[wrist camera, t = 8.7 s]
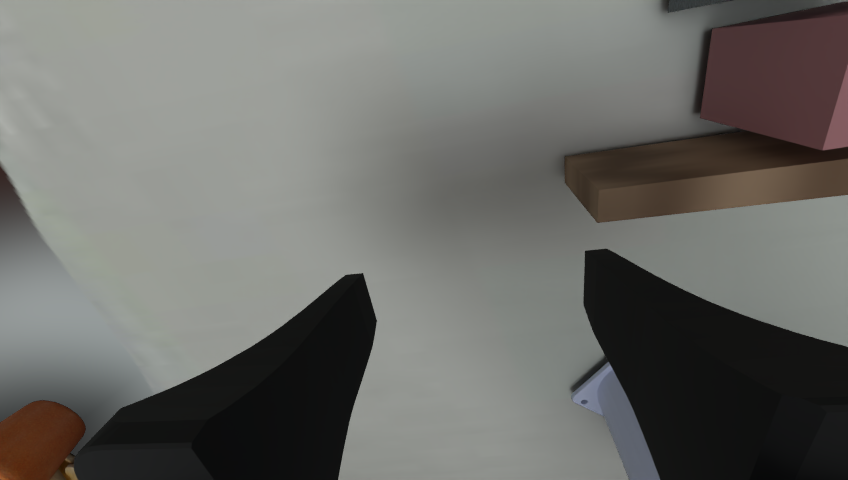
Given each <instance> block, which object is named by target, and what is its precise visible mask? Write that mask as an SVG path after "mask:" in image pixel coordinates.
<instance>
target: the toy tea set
mask: <svg viewBox="0 0 848 480" xmlns="http://www.w3.org/2000/svg"><path fill="white" fill-rule="evenodd" d="M85 430H86V428H85V424H84V422H83V420H82V419H81V418H80V417H79V416H78V415H77V414H76V413H75V412H73V411H72V410H71V409H69V408H68V407H66V406H64V405H61V404H59V403H56V402H51V401H45V400H43V401H42V400H40V401H35V402H32V403H30V404H28V405H26V406H25V407H23V408H22V409H20V410H19V411H17V412H16V413H14V414H13V415H11V416H9V417H8V418H6V419H5V420H3V421H2V422H0V480H78V479H77V477H76V474H75V472H74V458H75V456H74V455H73V454H71V453H70V452H71V451H72V450H73V449H74V447H75V446H76V445H77V443H78V442H79V441H80V439H81V438H82V437H83V435H84V433H85Z"/></svg>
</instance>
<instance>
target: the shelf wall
mask: <svg viewBox="0 0 848 480" xmlns="http://www.w3.org/2000/svg"><path fill="white" fill-rule="evenodd" d="M565 183H566V185H567V186H568V187H569V188H570V190H571V191H572V192H573V193H574V195H575V196H576V197H577V198H578V200H579V201H580V202H581V203H582V204H583V206H584V207H585V208H586V209H587V211H588V212H589V213H590V214H591V216H592V217H593V218H594V219H595V221H596V222H597V223H600V222H609V221H618V220H627V219H636V218H645V217H654V216H663V215H672V214H680V213H689V212H698V211H707V210H716V209H725V208H734V207H743V206H752V205H761V204H770V203H778V202H787V201H796V200H805V199H814V198H823V197H832V196H841V195H848V147H842V148H836V149H829V150H819V149H815V148H811V147H808V146H804V145H800V144H796V143H793V142H789V141H785V140H781V139H777V138H774V137H770V136H766V135H762V134H759V133H755V132H751V131H742V132H735V133H728V134H721V135H714V136H707V137H700V138H693V139H686V140H679V141H672V142H665V143H657V144H650V145H643V146H636V147H629V148H622V149H615V150H608V151H601V152H594V153H587V154H580V155H573V156H566V157H565Z"/></svg>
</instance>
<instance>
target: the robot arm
mask: <svg viewBox="0 0 848 480" xmlns="http://www.w3.org/2000/svg"><path fill="white" fill-rule="evenodd" d="M584 307H585V310H586V313H587V316H588V319H589V322H590V324H591V327H592V330H593V332H594V334H595V336H596V338H597V340H598V342H599V344H600V346H601V348H602V350H603V352H604V354H605V356H606V358H607V359H608V361H609V362H607V363H606V364H605V365H604V366H603V367H602V368H601V369H599V370H598V371H597V372H596V373H595V374H594V375H593V376H592V377H590V378H589V379H588V380H587V381H586V382H585V383H584V384H582V385H581V386H580V387H579V388H578V389H577V390H576V391H574V392H573V393H572V395H571V398H572V400H573V402H575V403H577V404H579V405H581V406H583V407H585V408H587V409H589V410H591V411H593V412H596V413H598V414H600V415H602V416H604V417H605V420H606V422H607V425H608V427H609V430H610V432H611V435H612V437H613V440H614V442H615V445H616V448H617V450H618V453H619V455H620V458H621V460H622V463H623V465H624V468H625V470H626V473H627V475H628V478H629V480H848V347H846V346H842V345H838V344H835V343H831V342H827V341H823V340H819V339H816V338H813V337H809V336H806V335H802V334H799V333H795V332H792V331H789V330H786V329H783V328H780V327H777V326H774V325H771V324H768V323H764V322H761V321H758V320H756V319H753V318H750V317H747V316H744V315H742V314H739V313H736V312H734V311H731V310H729V309H726V308H724V307H721V306H719V305H716V304H714V303H711V302H709V301H707V300H704V299H702V298H700V297H698V296H695V295H693V294H691V293H689V292H687V291H685V290H683V289H681V288H679V287H677V286H675V285H673V284H671V283H669V282H667V281H665V280H663V279H661V278H659V277H657V276H655V275H653V274H652V273H650V272H648V271H646V270H644V269H642V268H641V267H639V266H637V265H635V264H634V263H632V262H630V261H628V260H626V259H625V258H623V257H621V256H619V255H618V254H616V253H614V252H612V251H610V250H608V249H599V250H589V251H585V273H584ZM376 322H377V320H376V316H375V313H374V309H373V306H372V303H371V299H370V296H369V292H368V289H367V285H366V282H365V279H364V275H363V273H361V274H351V275H345V276H344V277H342V278H341V279H340V280H338V281H337V282H336V283H335V284H334V285H332V286H331V287H330V288H329V289H328V290H326V291H325V292H324V293H323V294H322V295H320V296H319V297H318V298H317V299H316V300H314V301H313V302H312V303H311V304H310V305H308V306H307V307H306V308H305V309H304V310H302V311H301V312H300V313H298V314H297V315H296V316H294V317H293V318H292V319H291V320H289V321H288V322H287V323H285V324H284V325H283V326H282V327H280V328H279V329H277V330H276V331H274V332H273V333H272V334H270V335H269V336H267V337H266V338H264V339H263V340H261V341H259V342H258V343H256V344H255V345H253V346H252V347H250V348H248V349H247V350H245V351H243V352H241V353H240V354H238V355H236V356H234V357H233V358H231V359H229V360H227V361H225V362H224V363H222V364H220V365H218V366H216V367H214V368H213V369H211V370H209V371H207V372H205V373H203V374H200V375H198V376H196V377H194V378H192V379H190V380H188V381H186V382H184V383H181V384H179V385H177V386H175V387H172V388H170V389H168V390H165V391H163V392H160V393H158V394H155V395H153V396H151V397H148V398H146V399H144V400H141V401H138V402H136V403H133V404H131V405H128V406H126V407H123V408H121V409H120V410H119V411H118V412H117V413H116V414H115V415H114V416H113V417H112V418H111V419H110V420H109V421H108V422H107V423H106V424H105V425H104V426H103V427H102V428H101V429H100V430H99V431H98V432H97V433H96V435H94V437H93V438H92V439H91V440H90V441H89V442H88V443H87V444H86V445H85V446H84V447H83V448H82V449H81V450H80V451H79V452H78V454H77V455H76V456H75V458H74V472H75V474H76V477H77V479H78V480H338V476H339V471H340V465H341V460H342V455H343V449H344V445H345V440H346V435H347V430H348V426H349V421H350V417H351V413H352V410H353V406H354V403H355V400H356V397H357V394H358V390H359V387H360V384H361V381H362V378H363V375H364V372H365V369H366V366H367V363H368V359H369V356H370V353H371V350H372V346H373V341H374V335H375V329H376Z"/></svg>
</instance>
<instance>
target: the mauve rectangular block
mask: <svg viewBox="0 0 848 480" xmlns="http://www.w3.org/2000/svg"><path fill="white" fill-rule="evenodd" d="M700 118H702V119H706V120H710V121H713V122H717V123H721V124H725V125H728V126H732V127H736V128H740V129H744V130H747V131H751V132H755V133H759V134H762V135H766V136H770V137H774V138H777V139H781V140H785V141H789V142H793V143H796V144H800V145H804V146H808V147H811V148H815V149H819V150H829V149H836V148H842V147H848V2H841V3H835V4H831V5H826V6H821V7H816V8H811V9H806V10H802V11H797V12H792V13H787V14H782V15H777V16H772V17H768V18H763V19H758V20H753V21H748V22H743V23H738V24H734V25H729V26H724V27H719V28H714V29H712V35H711V43H710V50H709V57H708V64H707V71H706V79H705V86H704V93H703V100H702V107H701V115H700Z"/></svg>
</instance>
